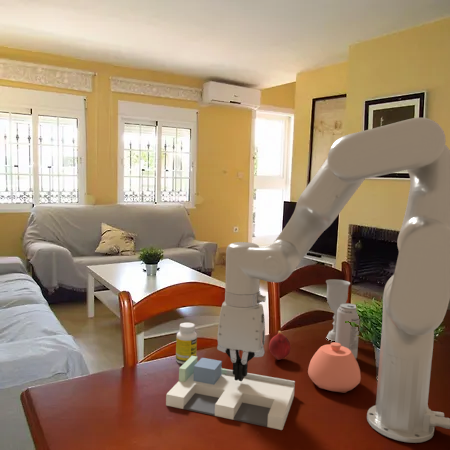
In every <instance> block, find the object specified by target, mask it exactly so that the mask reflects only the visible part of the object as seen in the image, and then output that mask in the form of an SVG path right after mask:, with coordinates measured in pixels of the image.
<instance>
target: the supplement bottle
mask: <svg viewBox="0 0 450 450" xmlns="http://www.w3.org/2000/svg"><path fill="white" fill-rule="evenodd" d="M195 327H196V324H195V323H192V322H181V323H180V324H179V331H178V332H177V333H176V341H175V343H176V344H175V345H176V346H175V361H176V362H177V363H178V364H181V365H183V364H184V363H185V362H186V361H187V360H188V359H189V358H190V357H191V356H197V348H198V347H197V346H198V334H197V333H196V332H195V331H196V328H195Z"/></svg>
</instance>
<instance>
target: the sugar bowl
mask: <svg viewBox="0 0 450 450" xmlns="http://www.w3.org/2000/svg"><path fill="white" fill-rule="evenodd" d="M307 369H308V370H307V373H308V376H309V379H310V380H311V381H312V382H313V384H314V385H316V387H318V388H319V389H322V390H327V391H330V392H336V393H341V394H343V393H345V394H346V393H347V392H349V391H352V390H353V389H354V388H356V387H357V386H358V385H359V384H360V382H361V379H362V377H361V369H360V366H359V363H358V361H357V358H356V359H355V357H354V355H353V354H352V352H351V351H350V350H349V349H348V348H346V347H344V346H341V344H340V343H337V342H330V344H324V345H322V346H320V347H319V348H318V349H317V351H316V352H315V353H314V354H313V356H312V358H311V359H310V362H309V364H308V367H307Z"/></svg>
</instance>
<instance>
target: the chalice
mask: <svg viewBox="0 0 450 450" xmlns="http://www.w3.org/2000/svg"><path fill="white" fill-rule="evenodd" d="M325 283H326V300H327V303H328V306H329V307H330V310H331V311H332V312H333V316H332V319H333V322H332V323H331V324H332V325H333V328H332V329H331V330H329V331H328V334H327V335H326V337H325V339H326V338H327V339H328V340H327V339H326V340H327V341H329V340H331V341H330V342H332V341H335V338H336V323H337V310H338V309H339V307H340V304H342V303H347V300H348V295H349V294H348V293H349V287H350V285H351V282H350V281H347V280H343V279H326V280H325Z"/></svg>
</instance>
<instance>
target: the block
mask: <svg viewBox="0 0 450 450" xmlns="http://www.w3.org/2000/svg"><path fill="white" fill-rule="evenodd" d="M222 364H223V360H217V359H213V358H206V357H200V359H199V360H198V362H197V363H196V364H195V365H194V381H197V382H202V383H208V384H213V385H214V384H215V383H216V382H217V380H218V379H219V378H220V376H221V372H222V368H223V366H222Z"/></svg>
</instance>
